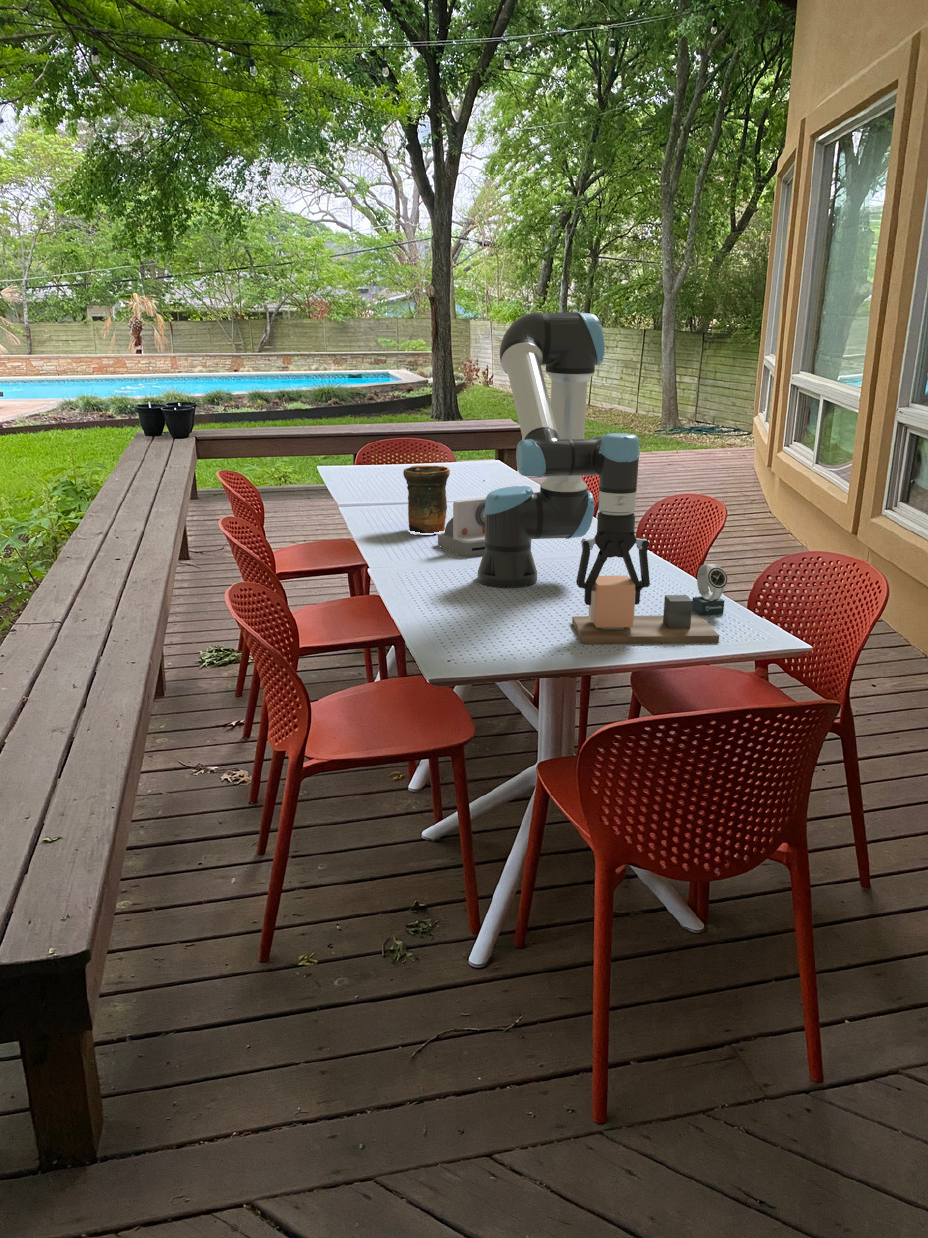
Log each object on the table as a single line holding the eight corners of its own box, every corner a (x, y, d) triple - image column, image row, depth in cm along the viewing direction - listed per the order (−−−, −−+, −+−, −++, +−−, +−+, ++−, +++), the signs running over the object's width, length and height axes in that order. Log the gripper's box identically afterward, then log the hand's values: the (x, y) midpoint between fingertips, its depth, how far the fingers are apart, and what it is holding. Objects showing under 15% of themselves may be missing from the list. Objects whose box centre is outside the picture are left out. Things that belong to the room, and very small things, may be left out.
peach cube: (589, 616, 198) (591, 575, 195) (625, 616, 198) (627, 575, 195) (596, 627, 190) (598, 585, 188) (632, 627, 191) (635, 585, 188)
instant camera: (457, 559, 257) (457, 505, 253) (432, 543, 276) (432, 493, 271) (526, 552, 265) (527, 500, 260) (497, 537, 283) (498, 489, 279)
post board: (572, 623, 201) (573, 589, 199) (699, 621, 203) (701, 588, 200) (582, 644, 188) (584, 608, 186) (718, 642, 189) (721, 607, 187)
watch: (706, 618, 205) (710, 570, 202) (687, 608, 212) (691, 561, 209) (728, 616, 206) (732, 568, 203) (709, 606, 214) (713, 559, 210)
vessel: (460, 532, 289) (458, 468, 283) (421, 539, 281) (419, 473, 275) (435, 524, 300) (433, 463, 294) (397, 531, 293) (394, 467, 286)
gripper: (569, 515, 183) (565, 625, 190) (671, 514, 184) (663, 624, 191) (563, 508, 190) (559, 614, 197) (662, 507, 191) (655, 613, 198)
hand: (611, 619), depth 194 cm, fingers closed on peach cube, 8 cm apart
